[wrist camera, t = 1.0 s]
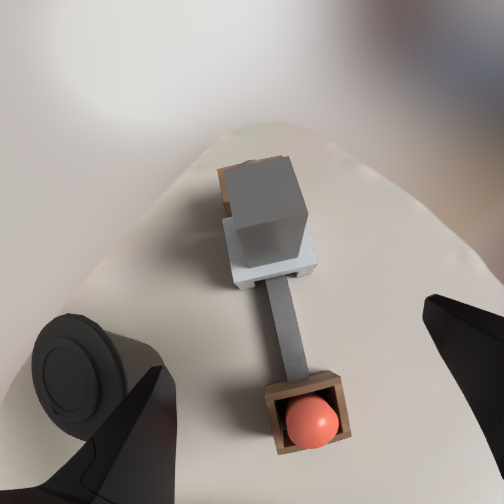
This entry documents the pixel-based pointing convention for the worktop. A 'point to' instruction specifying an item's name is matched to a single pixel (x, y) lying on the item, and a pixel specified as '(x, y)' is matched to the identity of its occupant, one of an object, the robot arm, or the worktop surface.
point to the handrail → (287, 329)
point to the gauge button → (310, 421)
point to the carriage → (266, 223)
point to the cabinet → (313, 384)
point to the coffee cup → (85, 372)
